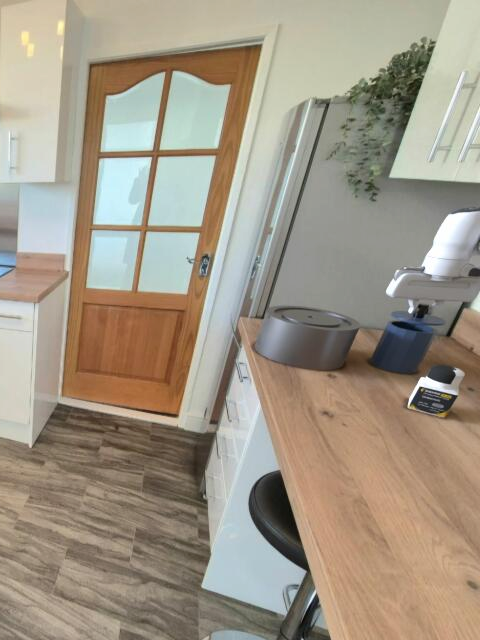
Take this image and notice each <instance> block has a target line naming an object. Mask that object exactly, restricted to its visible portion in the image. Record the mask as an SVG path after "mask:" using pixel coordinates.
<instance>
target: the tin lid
mask: <svg viewBox="0 0 480 640" xmlns="http://www.w3.org/2000/svg"><path fill="white" fill-rule="evenodd" d="M417 304H418V305H416V307H417V308H420V309H419V311H418V313H417V314H411V313H409V312H408V311H407V310H395V311H392V312H391V313H390V317H392V318H393V319H396V320H397V321H404V322H408V323H412V324H417V325H427V326H430V327H433V326H434V327H437V326H438V327H440V326H441V327H442V326H445V325H446V323H447V321H446V320H445V319H444V318H442V317H439V316H437V315H434V314H432V315H427V314H426V312H427V310H428V308H429V307H430V306H431V305H430V304H428V303H421V302H420V303H419V302H418V303H417Z"/></svg>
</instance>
